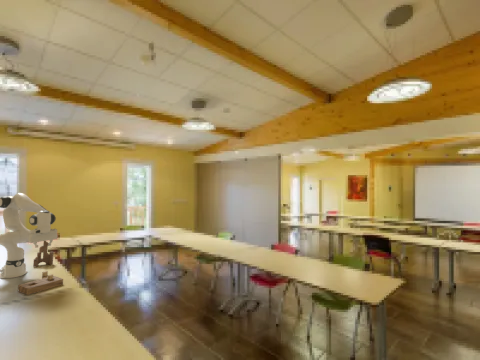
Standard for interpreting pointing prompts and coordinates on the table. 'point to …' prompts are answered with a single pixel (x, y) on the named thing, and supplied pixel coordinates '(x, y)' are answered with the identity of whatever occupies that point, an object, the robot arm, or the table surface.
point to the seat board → (39, 285)
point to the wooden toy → (46, 257)
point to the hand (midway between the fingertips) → (43, 246)
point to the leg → (44, 274)
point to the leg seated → (50, 277)
